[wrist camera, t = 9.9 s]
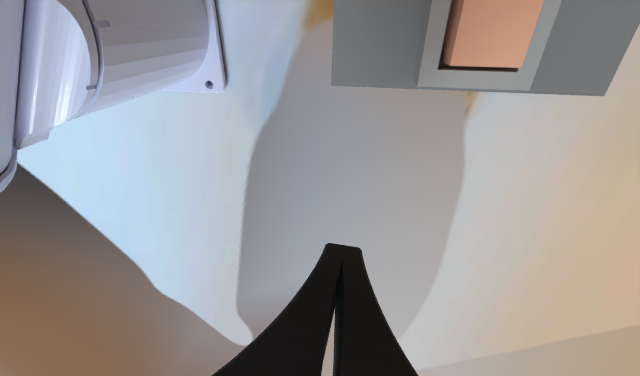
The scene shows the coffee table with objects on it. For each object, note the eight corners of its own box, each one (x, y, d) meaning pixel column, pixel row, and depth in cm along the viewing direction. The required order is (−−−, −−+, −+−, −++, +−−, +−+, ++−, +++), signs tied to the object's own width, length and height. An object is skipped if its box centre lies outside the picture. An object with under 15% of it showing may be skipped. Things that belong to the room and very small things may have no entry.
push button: (439, 60, 15) (449, 65, 13) (454, -12, 13) (467, -16, 12) (502, 62, 14) (521, 67, 13) (524, -11, 13) (549, -16, 11)
